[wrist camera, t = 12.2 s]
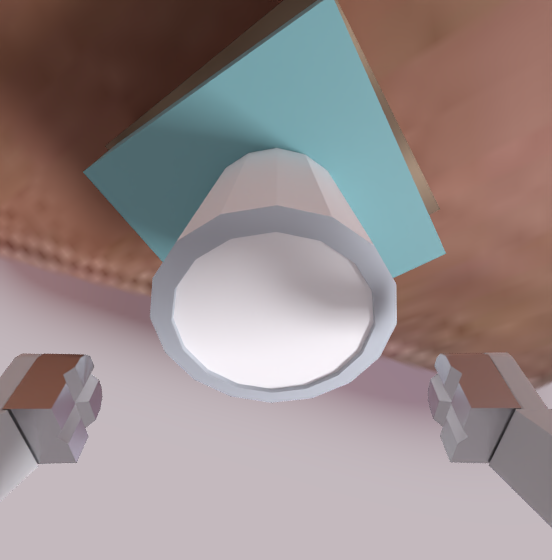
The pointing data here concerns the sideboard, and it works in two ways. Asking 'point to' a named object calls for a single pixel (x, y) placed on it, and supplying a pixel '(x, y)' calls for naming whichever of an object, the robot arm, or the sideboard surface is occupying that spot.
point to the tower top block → (274, 140)
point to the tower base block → (282, 13)
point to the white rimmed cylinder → (274, 285)
